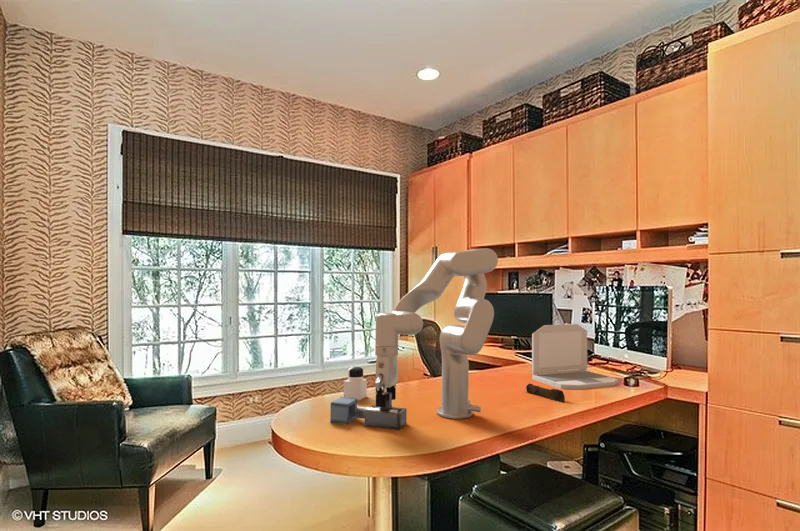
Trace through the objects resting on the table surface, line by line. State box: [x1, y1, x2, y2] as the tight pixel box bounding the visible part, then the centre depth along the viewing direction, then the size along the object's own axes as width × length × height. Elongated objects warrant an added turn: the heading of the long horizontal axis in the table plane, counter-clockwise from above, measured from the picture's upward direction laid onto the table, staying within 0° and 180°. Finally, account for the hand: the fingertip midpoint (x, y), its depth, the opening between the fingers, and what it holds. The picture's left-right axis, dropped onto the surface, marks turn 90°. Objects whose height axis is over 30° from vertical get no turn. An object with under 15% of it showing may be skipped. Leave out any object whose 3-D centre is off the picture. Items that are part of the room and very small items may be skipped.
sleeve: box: [364, 404, 407, 431], centre depth 151 cm, size 12×7×5 cm, turn 72°
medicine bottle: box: [343, 366, 368, 401], centre depth 184 cm, size 7×7×12 cm
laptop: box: [531, 323, 619, 390], centre depth 218 cm, size 33×24×26 cm
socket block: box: [329, 396, 358, 425], centre depth 155 cm, size 6×8×6 cm
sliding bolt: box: [355, 391, 399, 420], centre depth 152 cm, size 14×4×9 cm, turn 72°
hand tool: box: [525, 383, 566, 403], centre depth 189 cm, size 19×4×5 cm, turn 27°
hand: (385, 402), depth 151 cm, fingers open, 9 cm apart
